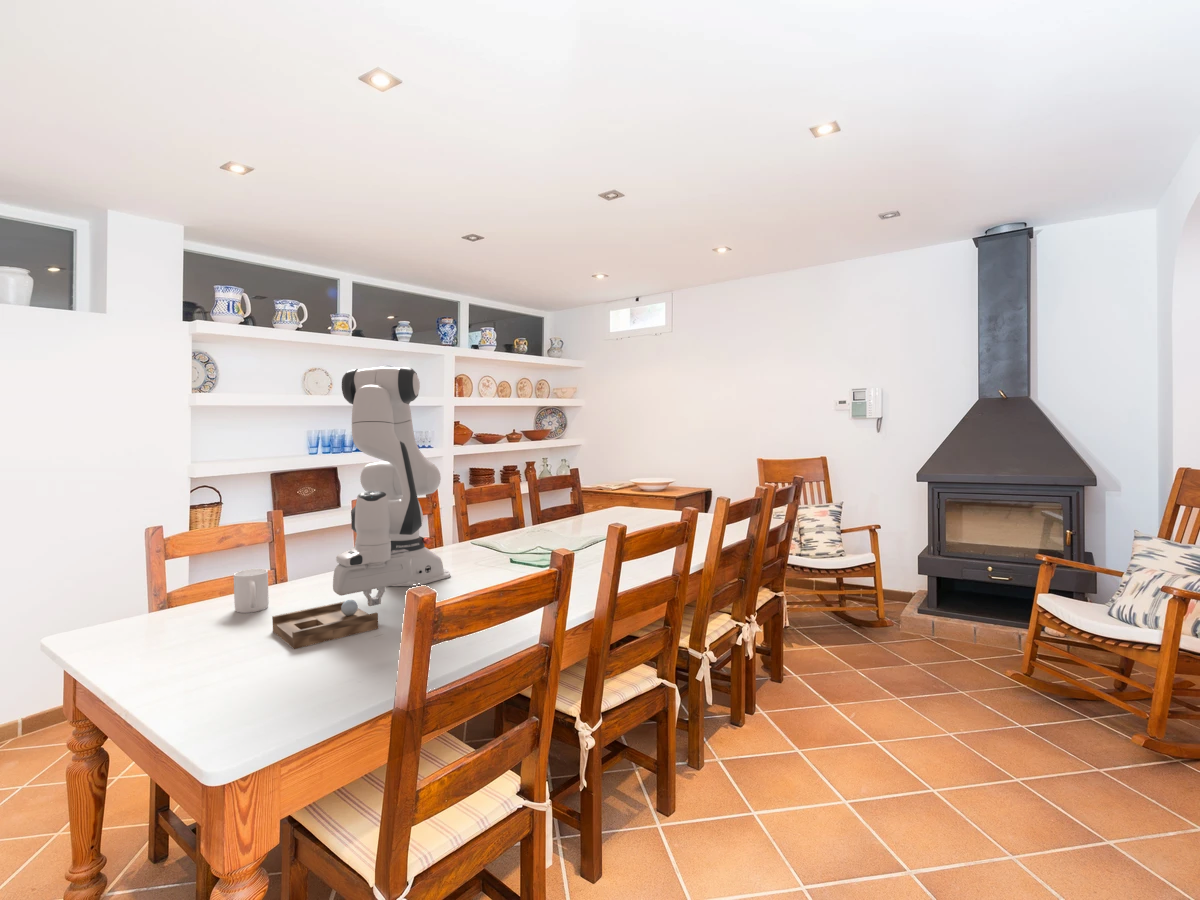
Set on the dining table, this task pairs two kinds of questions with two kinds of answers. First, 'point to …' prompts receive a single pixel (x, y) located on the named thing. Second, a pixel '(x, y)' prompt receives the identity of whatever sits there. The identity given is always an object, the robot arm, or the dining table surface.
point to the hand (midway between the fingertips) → (374, 604)
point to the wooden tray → (321, 625)
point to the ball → (349, 607)
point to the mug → (251, 590)
